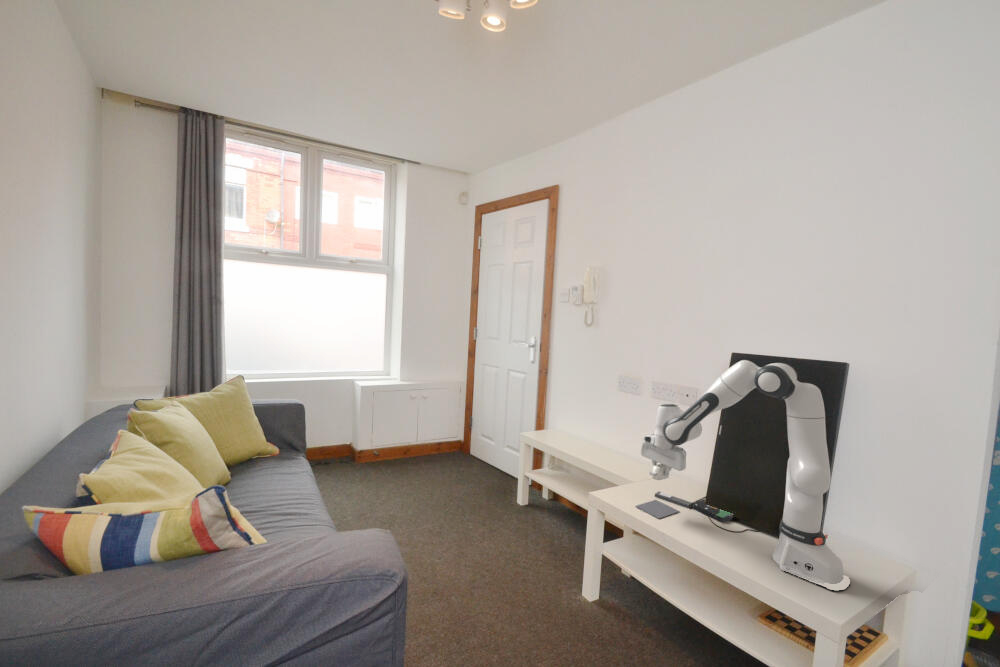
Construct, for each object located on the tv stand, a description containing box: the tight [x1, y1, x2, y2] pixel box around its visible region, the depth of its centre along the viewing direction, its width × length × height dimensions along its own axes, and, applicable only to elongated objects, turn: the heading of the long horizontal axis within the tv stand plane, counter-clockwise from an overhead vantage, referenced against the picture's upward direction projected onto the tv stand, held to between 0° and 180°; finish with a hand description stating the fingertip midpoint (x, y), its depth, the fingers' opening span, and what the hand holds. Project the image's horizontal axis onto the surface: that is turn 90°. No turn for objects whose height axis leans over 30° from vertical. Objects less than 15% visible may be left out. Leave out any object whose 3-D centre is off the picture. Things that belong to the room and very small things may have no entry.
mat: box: [634, 499, 680, 520], centre depth 196 cm, size 12×14×1 cm
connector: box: [649, 463, 670, 481], centre depth 194 cm, size 4×10×5 cm, turn 125°
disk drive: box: [689, 498, 734, 524], centre depth 197 cm, size 10×3×15 cm
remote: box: [654, 491, 693, 509], centre depth 206 cm, size 15×4×2 cm, turn 49°
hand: (660, 473), depth 195 cm, fingers closed on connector, 3 cm apart
